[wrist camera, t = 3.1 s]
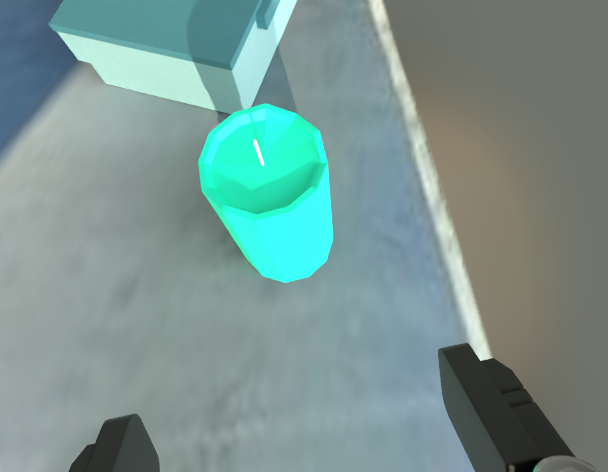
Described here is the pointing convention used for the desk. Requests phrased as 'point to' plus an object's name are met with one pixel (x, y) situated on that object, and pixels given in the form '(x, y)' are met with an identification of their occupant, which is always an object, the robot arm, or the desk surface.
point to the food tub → (178, 45)
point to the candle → (270, 189)
